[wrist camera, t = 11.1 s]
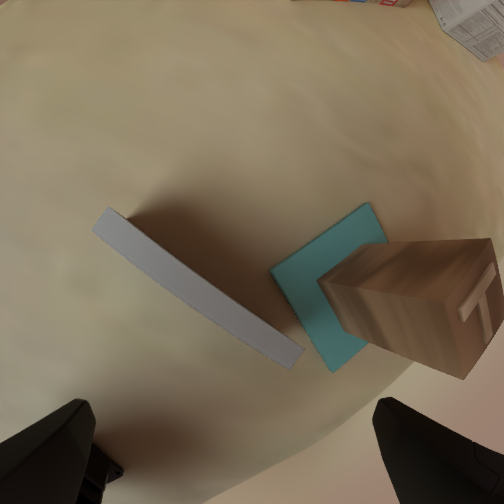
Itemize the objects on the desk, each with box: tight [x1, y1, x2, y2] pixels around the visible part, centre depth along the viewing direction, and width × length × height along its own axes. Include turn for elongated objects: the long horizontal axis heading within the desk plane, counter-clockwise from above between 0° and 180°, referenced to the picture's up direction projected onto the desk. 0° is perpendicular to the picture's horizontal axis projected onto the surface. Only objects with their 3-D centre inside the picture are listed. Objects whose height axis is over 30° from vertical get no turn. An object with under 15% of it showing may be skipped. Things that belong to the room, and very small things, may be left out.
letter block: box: [316, 238, 504, 380], centre depth 16 cm, size 5×5×12 cm
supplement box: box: [428, 0, 504, 62], centre depth 22 cm, size 13×13×18 cm
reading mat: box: [269, 202, 388, 372], centre depth 23 cm, size 10×10×1 cm
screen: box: [91, 206, 305, 370], centre depth 17 cm, size 2×13×6 cm, turn 53°
